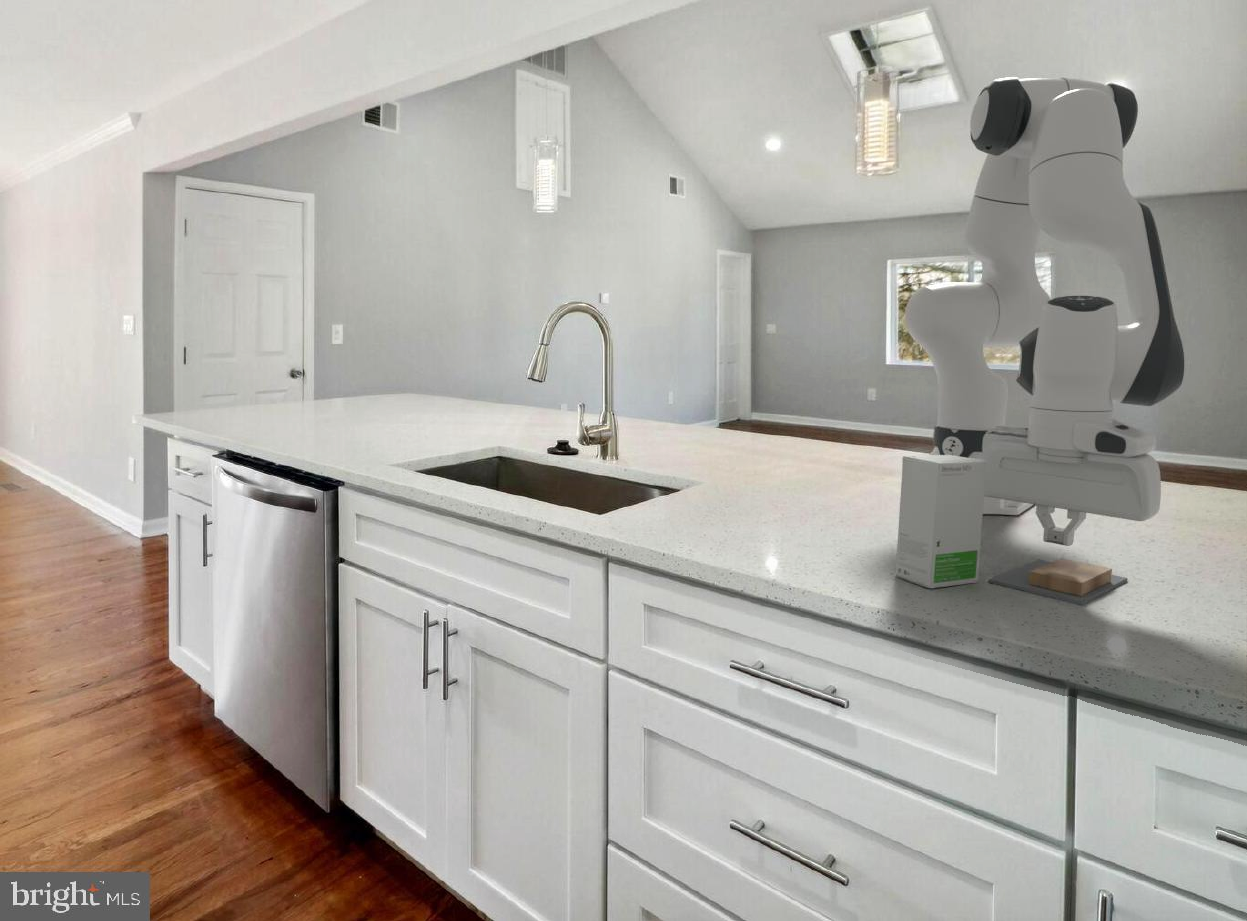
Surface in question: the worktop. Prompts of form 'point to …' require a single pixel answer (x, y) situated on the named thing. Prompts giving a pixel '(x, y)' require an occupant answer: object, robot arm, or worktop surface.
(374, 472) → the worktop surface
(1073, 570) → the walnut slab
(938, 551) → the skincare box
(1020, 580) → the slate mat
